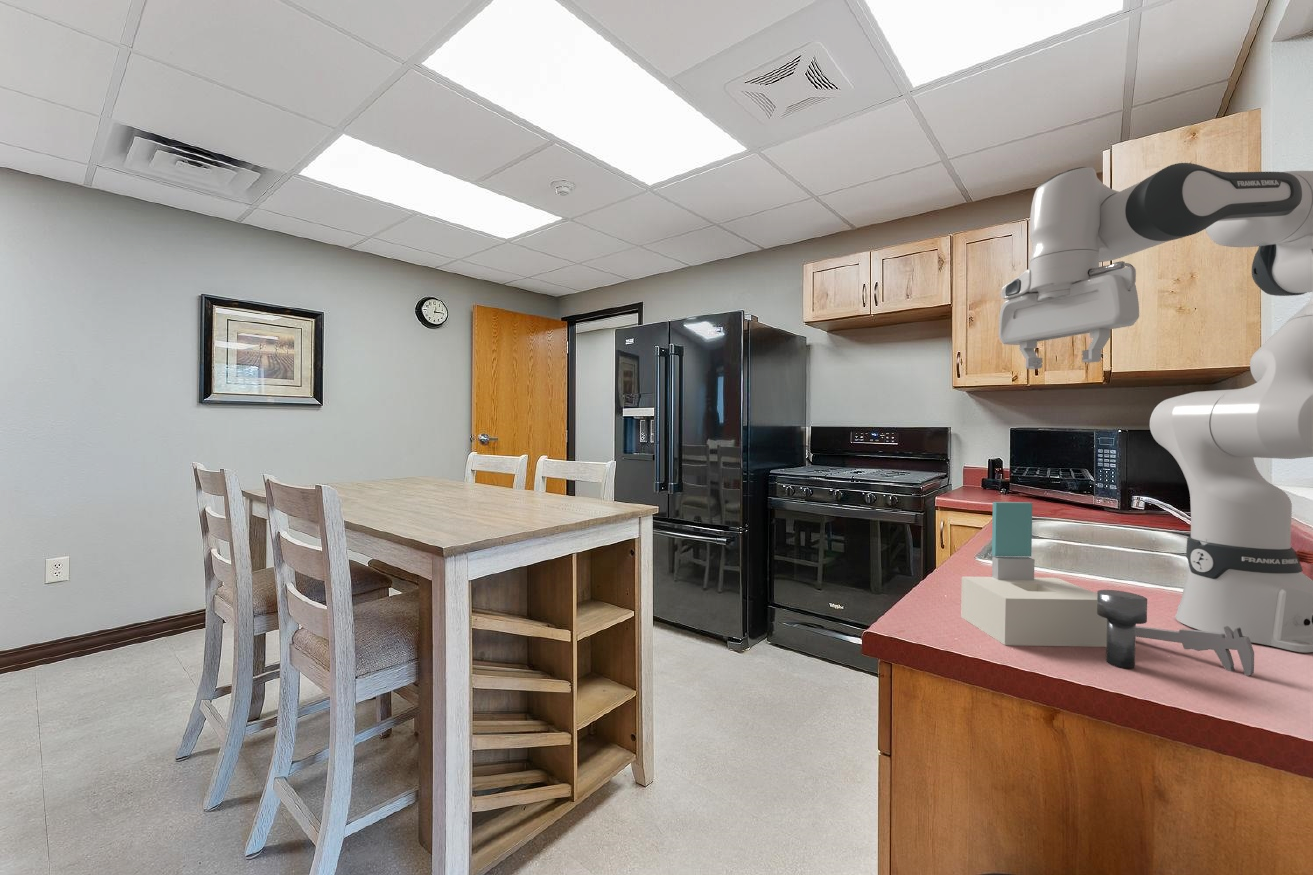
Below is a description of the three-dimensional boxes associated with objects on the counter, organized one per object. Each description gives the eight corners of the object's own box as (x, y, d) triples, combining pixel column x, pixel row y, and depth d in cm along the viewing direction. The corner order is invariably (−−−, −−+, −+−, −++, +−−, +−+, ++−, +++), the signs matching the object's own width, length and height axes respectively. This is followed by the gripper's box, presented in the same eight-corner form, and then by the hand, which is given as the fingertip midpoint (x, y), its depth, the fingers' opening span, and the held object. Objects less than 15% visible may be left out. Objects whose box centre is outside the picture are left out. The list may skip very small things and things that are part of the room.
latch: (1031, 556, 91) (1027, 555, 92) (1032, 503, 91) (1028, 502, 92) (995, 555, 92) (991, 554, 93) (996, 502, 91) (992, 501, 92)
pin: (1123, 656, 77) (1125, 589, 77) (1156, 672, 72) (1158, 601, 72) (1086, 655, 77) (1087, 589, 77) (1116, 672, 72) (1118, 601, 72)
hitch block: (1055, 618, 93) (1057, 557, 92) (1113, 646, 81) (1115, 576, 80) (961, 617, 93) (962, 555, 93) (1004, 645, 81) (1006, 574, 81)
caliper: (1254, 677, 71) (1255, 630, 71) (1250, 679, 71) (1251, 631, 71) (1079, 626, 90) (1079, 588, 90) (1075, 627, 89) (1076, 589, 89)
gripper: (1152, 259, 76) (1150, 358, 76) (1022, 294, 96) (1020, 372, 96) (1117, 255, 74) (1115, 356, 75) (992, 291, 94) (991, 371, 94)
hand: (1061, 365), depth 85 cm, fingers open, 8 cm apart
